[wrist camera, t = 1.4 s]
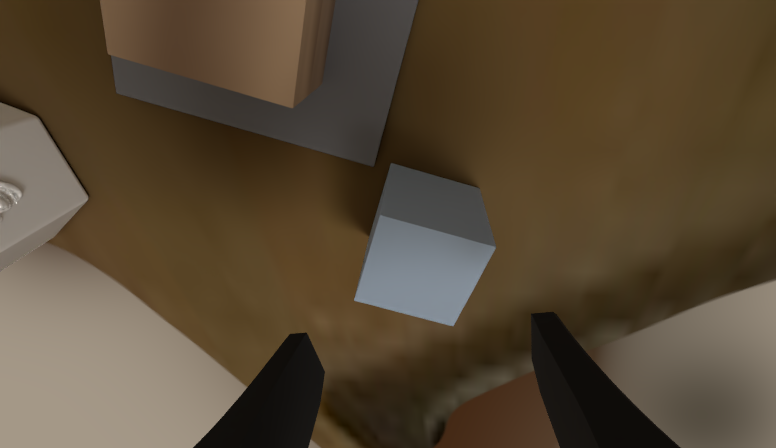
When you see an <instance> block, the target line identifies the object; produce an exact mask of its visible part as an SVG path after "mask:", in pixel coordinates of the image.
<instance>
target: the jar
mask: <svg viewBox="0 0 776 448" xmlns="http://www.w3.org/2000/svg"><path fill="white" fill-rule="evenodd" d="M88 198H89V197H88V195H87V193H86V191H85V190H84V188H83V187H82V185H81V184H80V182H79V180H78V179H77V177H76V176H75V174H74V173H73V171H72V169H71V168H70V166H69V165H68V163H67V161H66V160H65V158H64V157H63V155H62V154H61V152H60V150H59V149H58V147H57V146H56V144H55V143H54V141H53V139H52V138H51V136H50V135H49V133H48V131H47V130H46V128H45V127H44V125H43V124H42V122H41V120H40V119H39V118H38V117H37V116H35V115H33V114H30V113H27V112H25V111H22V110H19V109H17V108H14V107H11V106H9V105H6V104H4V103H1V102H0V271H2V270H3V269H5V268H6V267H8V266H9V265H11V264H13V263H14V262H16V261H17V260H19V259H20V258H22V257H24V256H25V255H27V254H28V253H30V252H31V251H32V250H34V249H36V248H37V247H39V246H41V245H42V244H44V243H45V242H47V241H48V240H50V239H52V238H53V237H54V236H55V235H56V234H57V233H58V232H59V231H60V230H61V229H62V228H63V226H64V225H65V224H66V223H67V222H68V221H69V220H70V219H71V218H72V217H73V216H74V215H75V213H76V212H77V211H78V210H79V209H80V208H81V207H82V206H83V205H84V204H85V203H86V202H87V201H88Z"/></svg>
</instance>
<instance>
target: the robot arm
mask: <svg viewBox="0 0 776 448" xmlns="http://www.w3.org/2000/svg"><path fill="white" fill-rule="evenodd" d="M531 332H532V362H533V366H534V370H535V374H536V378H537V382H538V385H539V389H540V393H541V396H542V399H543V401H544V404H545V407H546V410H547V413H548V416H549V418H550V421H551V424H552V426H553V429H554V432H555V435H556V438H557V440H558V443H559V446H560V448H680V447H679V446H678V445H677V444H676V443H675V442H674V441H672V440H671V439H670V438H669V437H668V436H667V435H666V434H665V433H664V432H663V431H661V430H660V429H659V428H658V427H657V426H656V425H655V424H654V423H653V422H652V421H651V420H650V419H649V418H648V417H647V416H645V414H643V413H642V412H641V411H640V410H639V409H638V408H637V407H636V406H635V405H634V404H633V403H632V402H631V401H630V400H629V399H628V398H627V397H626V395H625V394H624V393H622V391H621V390H620V389H619V388H618V387H617V386H616V385H615V384H614V383H613V382H612V381H611V380H610V379H609V378H608V376H607V375H606V374H605V373H604V372H603V371H602V370H601V369H600V368H599V366H598V365H597V364H596V363H595V362H594V361H593V360H592V359H591V357H590V356H589V355H588V354H587V353H586V352H585V350H584V349H583V348H582V347H581V346H580V344H579V343H578V342H577V341H576V340H575V338H574V337H573V336H572V334H571V333H570V332H569V331H568V329H567V328H566V327H565V325H564V324H563V323H562V321H561V320H560V319H559V317H558V316H557V314H555V313H554V312H546V313H534V314H531ZM324 373H325V371H324V369H323V367H322V365H321V362H320V360H319V358H318V356H317V354H316V352H315V349H314V347H313V345H312V343H311V341H310V339H309V337H308V334H307V333H296V334H290V335H289V336H288V337H287V338H286V340H285V341H284V342H283V343H282V345H281V346H280V347H279V348H278V350H277V351H276V352H275V354H274V355H273V356H272V357H271V359H270V360H269V361H268V362H267V364H266V365H265V366H264V368H263V369H262V370H261V371H260V373H259V374H258V375H257V376H256V378H255V379H254V380H253V381H252V383H251V384H250V385H249V386H248V388H247V389H246V390H245V391H244V392H243V394H242V395H241V396H240V397H239V398H238V400H237V401H236V402H235V403H234V404H233V405H232V406H231V408H230V409H229V410H228V411H227V412H226V413H225V415H224V416H223V417H222V418H221V419H220V420H219V421H218V422H217V424H216V425H215V426H214V427H213V428H212V429H211V430H210V431H209V432H208V433H207V434H206V435H205V436H204V437H203V438H202V439H201V441H199V442H198V443H197V444H196V445H195V446H194V447H193V448H308V446H309V443H310V439H311V436H312V432H313V428H314V425H315V421H316V417H317V413H318V409H319V406H320V401H321V395H322V388H323V381H324Z"/></svg>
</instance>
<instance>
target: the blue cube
mask: <svg viewBox="0 0 776 448" xmlns="http://www.w3.org/2000/svg"><path fill="white" fill-rule="evenodd" d="M495 248H496V245H495V242H494V238H493V234H492V231H491V227H490V224H489V220H488V217H487V213H486V210H485V206H484V203H483V199H482V196H481V192H480V189H479V188H477V187H473V186H470V185H466V184H463V183H459V182H456V181H452V180H449V179H445V178H442V177H438V176H435V175H431V174H428V173H424V172H421V171H417V170H414V169H410V168H407V167H404V166H400V165H397V164H393V163H391V164H390V168H389V171H388V175H387V178H386V181H385V185H384V188H383V192H382V195H381V198H380V202H379V205H378V209H377V212H376V215H375V219H374V222H373V226H372V229H371V232H370V236H369V240H368V244H367V248H366V253H365V257H364V261H363V265H362V270H361V274H360V278H359V282H358V286H357V291H356V295H355V299H354V301H358V302H362V303H366V304H370V305H373V306H377V307H381V308H385V309H389V310H393V311H396V312H400V313H404V314H408V315H412V316H416V317H420V318H423V319H427V320H431V321H435V322H439V323H443V324H446V325H450V326H454V324H455V322H456V320H457V318H458V317H459V315H460V313H461V311H462V309H463V307H464V306H465V304H466V302H467V300H468V298H469V296H470V294H471V293H472V291H473V289H474V287H475V285H476V283H477V282H478V280H479V278H480V276H481V274H482V272H483V270H484V269H485V267H486V265H487V263H488V261H489V259H490V258H491V256H492V254H493V252H494V250H495Z"/></svg>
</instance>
